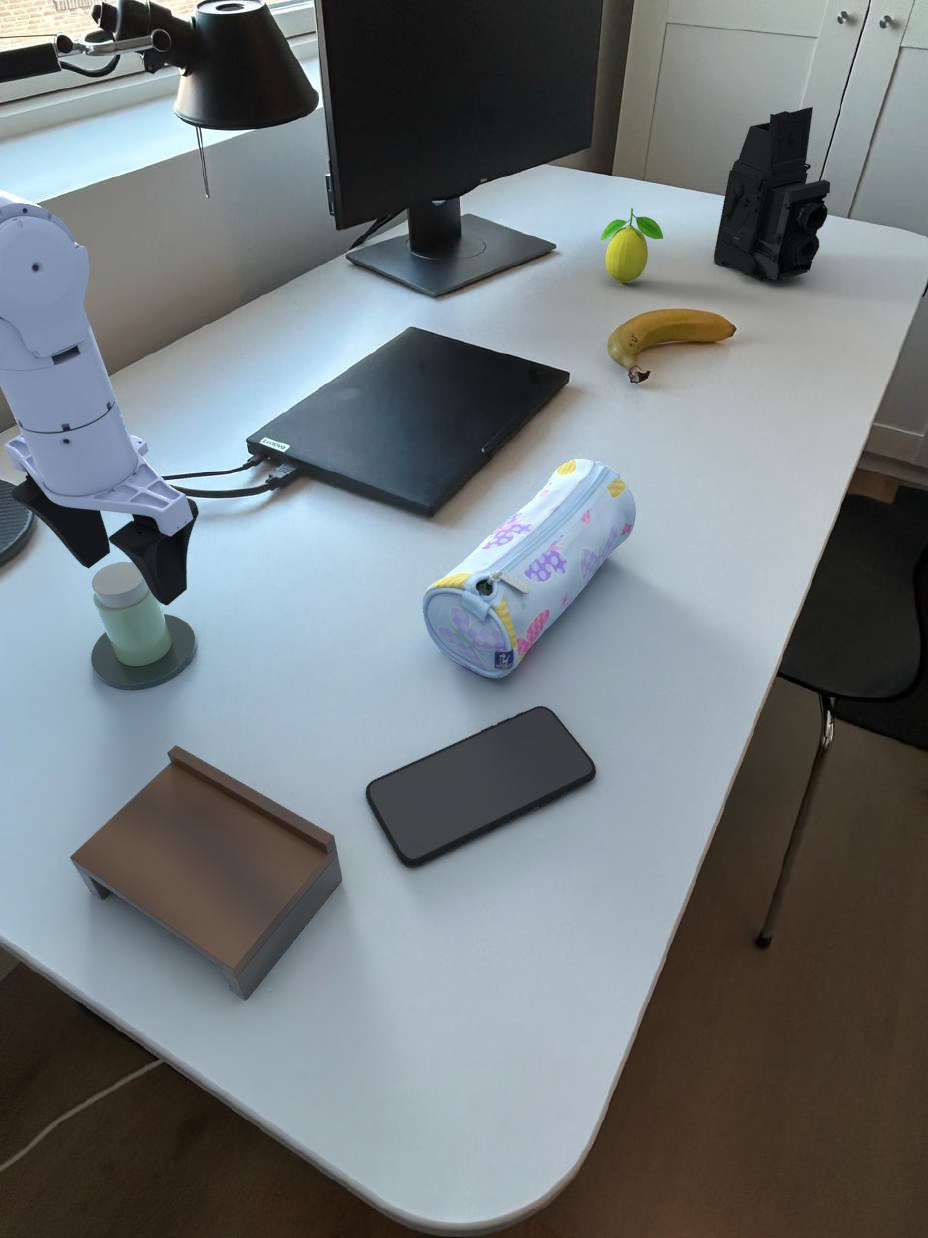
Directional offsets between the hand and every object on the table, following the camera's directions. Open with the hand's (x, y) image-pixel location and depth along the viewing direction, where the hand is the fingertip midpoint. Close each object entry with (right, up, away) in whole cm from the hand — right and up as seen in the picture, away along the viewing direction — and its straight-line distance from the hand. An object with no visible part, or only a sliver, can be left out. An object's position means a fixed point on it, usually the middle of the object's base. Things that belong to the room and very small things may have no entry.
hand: (134, 576), depth 62 cm
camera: (+65, +46, +62) cm, 101 cm away
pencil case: (+29, -2, +12) cm, 31 cm away
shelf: (+8, -20, -6) cm, 22 cm away
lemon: (+45, +43, +59) cm, 86 cm away
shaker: (-2, -5, +8) cm, 10 cm away
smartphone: (+24, -14, -1) cm, 28 cm away
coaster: (-2, -6, +8) cm, 10 cm away
